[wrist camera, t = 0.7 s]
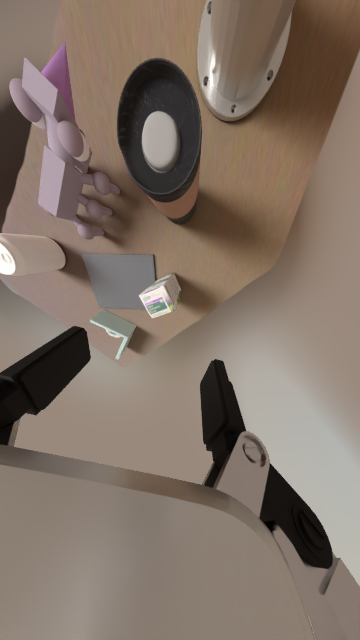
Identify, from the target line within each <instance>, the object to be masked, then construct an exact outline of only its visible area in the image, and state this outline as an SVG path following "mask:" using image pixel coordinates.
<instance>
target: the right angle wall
mask: <svg viewBox="0 0 360 640" xmlns="http://www.w3.org/2000/svg"><path fill="white" fill-rule="evenodd" d="M90 322H91V323H94V324H96V325H98V326H100V327H102V328H104V329H106V332H107V333H109V335H110V336H112V337H113V336H114V337H115V338H116V337H117V338H119V337H120V336H121V337H123V338H124V340H123V342H122V344H121V347H120V349H119V351H118V354H117V356H116V358H115V359H117V360H118V359H119V358H120V356H121V355H122V353H123V352H124V350H125V349H126V347H127V345H128V343H129V341H130V339H131V337H132V335H133V332H134V330H135V328H136V325H134V324H132V323H130V322H128V321H126V320H124V319H122V318H120V317H118V316H116V315H114V314H112V313H110V312H108V311H106V310H103V311H102V312H100V313H99V314H98V315H96V316H95V317H93V318H92V319H91V320H90Z"/></svg>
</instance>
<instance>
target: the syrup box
mask: <svg viewBox="0 0 360 640" xmlns="http://www.w3.org/2000/svg"><path fill="white" fill-rule="evenodd" d="M181 292H182V290H181V288H180V286H179V283H178V281H177V279H176V276H175V274H174V273H172V274H170V275H168V276H165V277H163V278H161V279H159V280H157V281H155V282H154V283H153V284H152V285H151V286H149V287H148V288H147V289H146V290H145V291H143V292H142V293H141V294H140V295H139V297H140V299H141V301H142V302H143V304H144V306H145V308H146V310H147V311H148V313H149V314H150V316H151V317H152V319H153V318H155V317H158V316H161V315H164V314H167V313H170V312H172V311H176V308H177V305H178V302H179V298H180V295H181Z"/></svg>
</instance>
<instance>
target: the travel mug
mask: <svg viewBox="0 0 360 640" xmlns="http://www.w3.org/2000/svg"><path fill="white" fill-rule="evenodd" d="M117 137H118V143H119V146H120V149H121V151H122V154H123V157H124V160H125V162H126V165H127V168H128V170H129V172H130V175H131V178H132V179H133V180H134V182H135V183H136V184H137V185H138V186H139V187H140V188H141V189H142V190H143V192H144V193H145V194H146V195H147V196H148V197H149V199H150V200H151V201H152V202H153V203H154V204H155V206H156V207H157V208H158V209H159V210H160V212H161V213H162V214H164V215H165V216H166V217H167V218H168V219H169V220H170V221H172V222H173V223H176V224H183V223H185V222H187V221H188V220H189V219H190V218H191V217H192V215H193V213H194V210H195V206H196V200H197V195H198V185H199V170H200V155H201V138H202V126H201V115H200V109H199V104H198V100H197V97H196V94H195V92H194V89H193V87H192V85H191V83H190V81H189V80H188V78H187V76H186V75H185V74H184V72H183V71H182V70H181V69H180V68H179V67H178V66H177V65H176V64H174V63H172V62H171V61H169V60H166V59H163V58H153V59H149V60H146V61H144V62H143V63H141V64H140V65H138V66H137V67H136V68H135V69H134V70H133V72H132V73H131V75H130V76H129V77H128V79H127V81H126V83H125V85H124V88H123V91H122V93H121V97H120V101H119V107H118V115H117Z"/></svg>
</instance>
